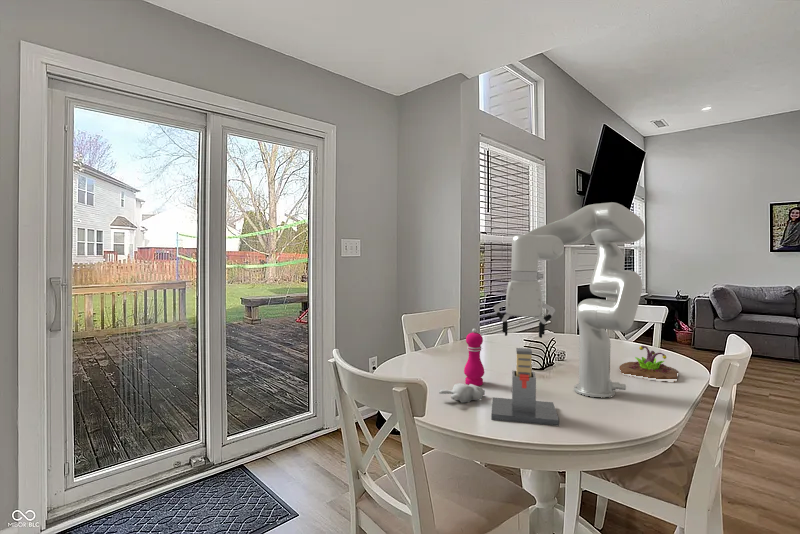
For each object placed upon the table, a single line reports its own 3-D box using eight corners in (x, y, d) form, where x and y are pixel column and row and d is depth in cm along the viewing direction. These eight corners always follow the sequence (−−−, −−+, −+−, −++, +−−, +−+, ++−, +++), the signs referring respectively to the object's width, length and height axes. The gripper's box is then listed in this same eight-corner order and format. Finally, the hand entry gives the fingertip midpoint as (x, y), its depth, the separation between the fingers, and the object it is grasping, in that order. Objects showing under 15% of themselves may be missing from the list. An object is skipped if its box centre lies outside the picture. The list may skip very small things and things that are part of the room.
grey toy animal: (491, 387, 135) (456, 390, 127) (490, 403, 135) (455, 407, 126) (471, 380, 143) (437, 382, 134) (469, 395, 143) (435, 398, 134)
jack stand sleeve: (553, 407, 128) (553, 367, 128) (558, 425, 115) (559, 380, 114) (492, 402, 133) (492, 363, 132) (491, 419, 119) (491, 376, 119)
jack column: (530, 404, 125) (531, 348, 125) (531, 410, 121) (532, 352, 120) (515, 403, 126) (516, 347, 126) (516, 408, 122) (516, 351, 121)
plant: (624, 365, 178) (624, 338, 177) (679, 373, 166) (680, 344, 166) (615, 376, 162) (616, 347, 161) (676, 386, 150) (677, 354, 150)
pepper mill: (484, 387, 148) (484, 330, 147) (463, 385, 149) (463, 329, 148) (484, 381, 155) (484, 326, 154) (464, 379, 156) (464, 326, 155)
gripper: (554, 277, 124) (552, 335, 124) (494, 276, 128) (493, 332, 128) (557, 278, 116) (556, 340, 117) (493, 277, 121) (492, 336, 121)
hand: (523, 336), depth 123 cm, fingers open, 9 cm apart
